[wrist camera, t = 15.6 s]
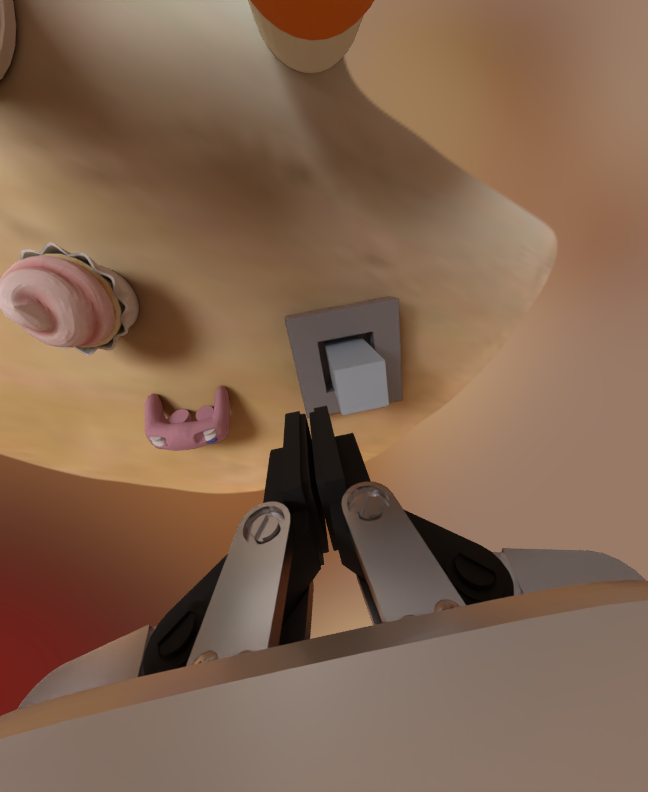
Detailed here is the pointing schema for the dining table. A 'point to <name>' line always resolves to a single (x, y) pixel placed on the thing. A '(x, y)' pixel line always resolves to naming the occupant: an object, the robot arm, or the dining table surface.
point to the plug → (357, 375)
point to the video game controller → (187, 424)
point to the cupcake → (68, 300)
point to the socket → (338, 323)
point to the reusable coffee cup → (309, 30)
